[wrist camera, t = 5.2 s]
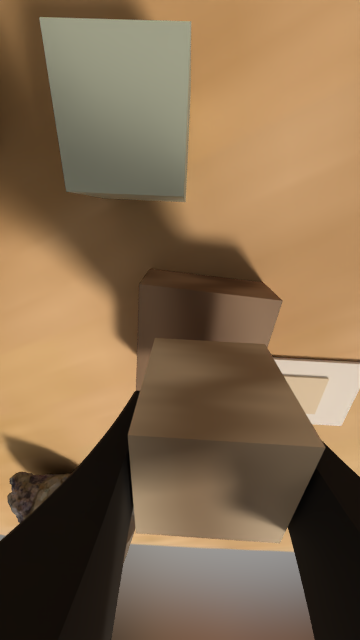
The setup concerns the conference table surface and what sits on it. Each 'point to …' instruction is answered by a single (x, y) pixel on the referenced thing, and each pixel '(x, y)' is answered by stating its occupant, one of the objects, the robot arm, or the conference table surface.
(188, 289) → the walnut block
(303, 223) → the conference table surface
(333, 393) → the card
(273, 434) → the maple cube
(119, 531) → the robot arm
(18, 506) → the mineral rock
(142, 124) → the sage cube
